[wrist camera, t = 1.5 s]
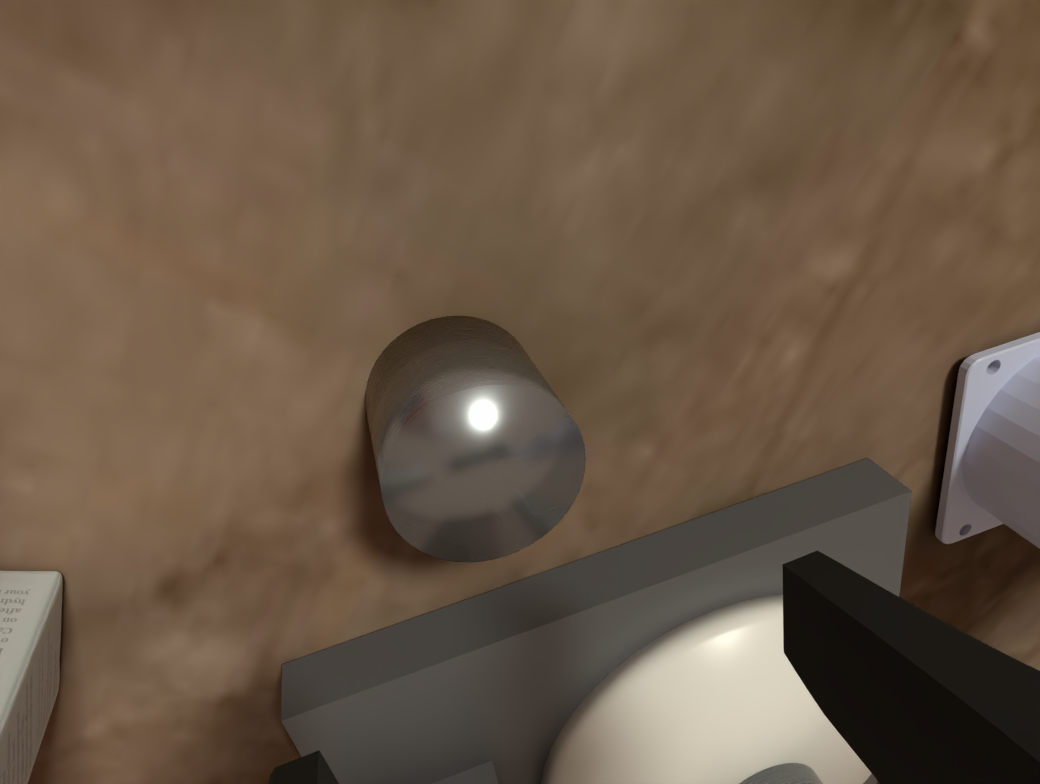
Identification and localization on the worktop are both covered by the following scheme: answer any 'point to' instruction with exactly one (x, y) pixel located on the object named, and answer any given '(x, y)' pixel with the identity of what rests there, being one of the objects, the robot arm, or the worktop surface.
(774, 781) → the cylinder
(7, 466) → the worktop surface
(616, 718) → the kitchen scale
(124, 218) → the worktop surface
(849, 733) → the robot arm
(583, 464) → the cylinder
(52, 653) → the skincare box
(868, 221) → the worktop surface
